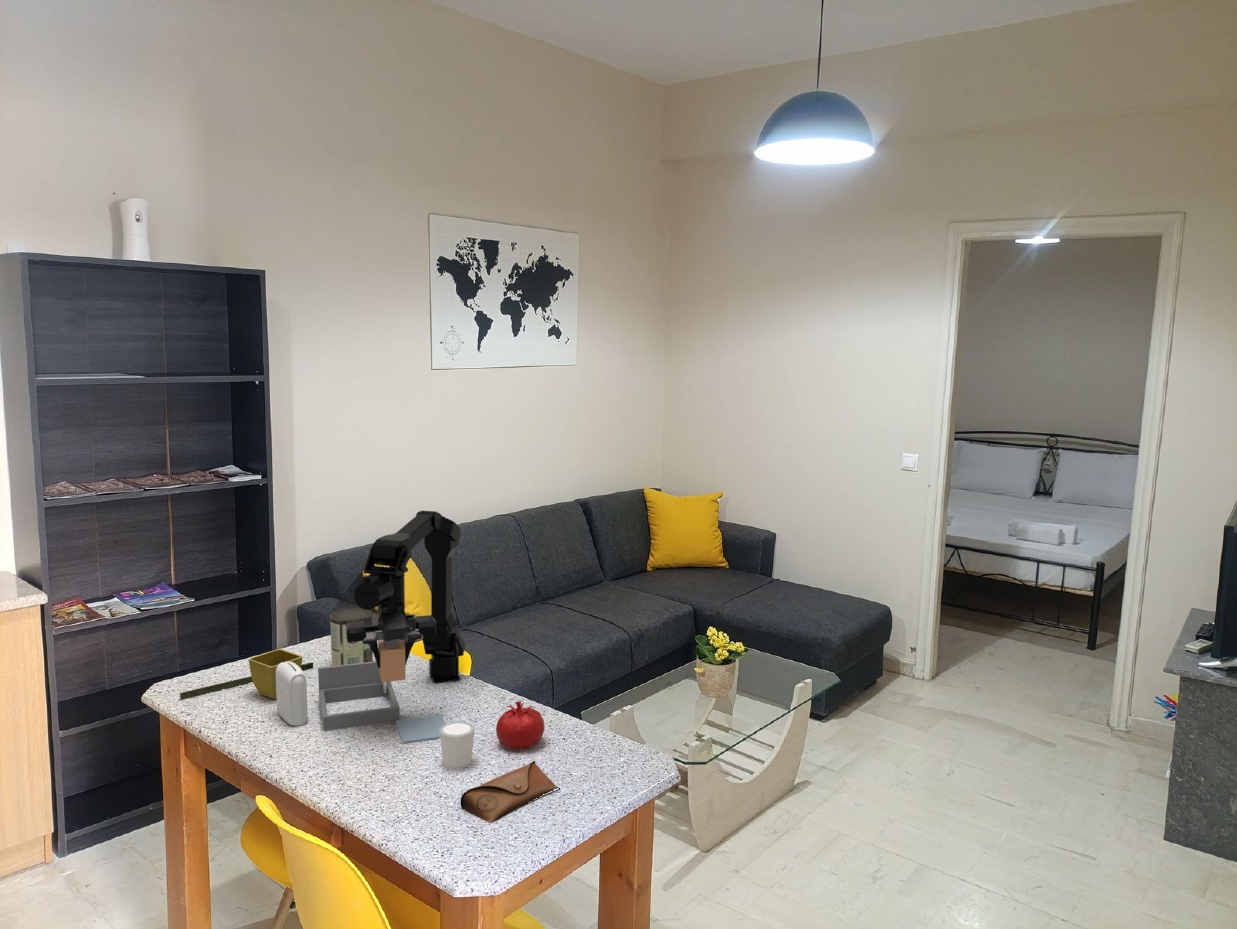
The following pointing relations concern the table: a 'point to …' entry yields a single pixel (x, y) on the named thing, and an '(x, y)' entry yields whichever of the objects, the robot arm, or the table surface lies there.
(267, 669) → the flower pot
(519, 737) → the pomegranate
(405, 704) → the table surface
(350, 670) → the grey open frame
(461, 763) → the white cup
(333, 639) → the coffee can
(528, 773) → the sunglasses case
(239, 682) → the rod
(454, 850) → the table surface
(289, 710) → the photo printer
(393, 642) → the block
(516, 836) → the table surface
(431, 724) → the mat
